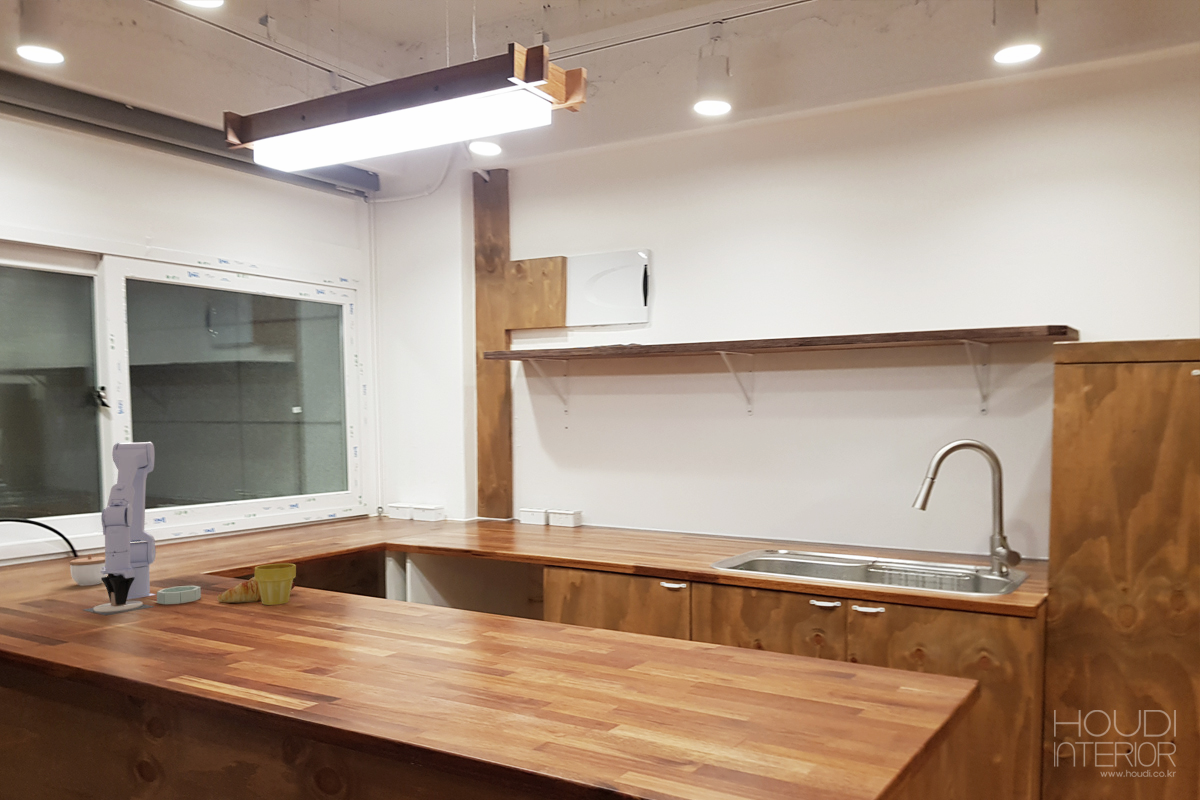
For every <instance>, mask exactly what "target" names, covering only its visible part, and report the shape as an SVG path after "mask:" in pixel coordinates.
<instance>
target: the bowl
mask: <svg viewBox="0 0 1200 800" xmlns="http://www.w3.org/2000/svg"><path fill="white" fill-rule="evenodd" d="M201 588H202V586H198V585H183V586H178V585H177V586H172V587H166V588H162V589H159V590H158V591H156V603H157V604H160V605H177V604H179V605H180V604H185V603H190V602H195V601H199V600H200V599H201V598H202V594H201V593H202V591H201Z"/></svg>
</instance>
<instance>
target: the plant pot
mask: <svg viewBox="0 0 1200 800" xmlns="http://www.w3.org/2000/svg"><path fill="white" fill-rule="evenodd" d="M296 573H297V565H296V564H294V563H284V562H283V563H270V564H269V563H268V564H262V565H257V566H255V567H254V577H255V580H256V581H257V582H258V587H259V591H260V596H261V600H260V601H261V604H262V605H265V606H274V605H275V606H277V605H284V604H288V603H289V602H290V597H291V591H292V590H291V587H292V583H293V582H294V579H295V578H296V575H297V574H296Z"/></svg>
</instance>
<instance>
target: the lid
mask: <svg viewBox="0 0 1200 800" xmlns="http://www.w3.org/2000/svg"><path fill="white" fill-rule="evenodd" d="M142 606H143V601H141V600H126V603H125V604H120V605H116V601H115V595H114V592H111V602H107V603H103V604H99V605H96V606H93V608H94V612H98V613H109V612H120V611H127V610H132V609H136V608H139V607H142Z"/></svg>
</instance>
